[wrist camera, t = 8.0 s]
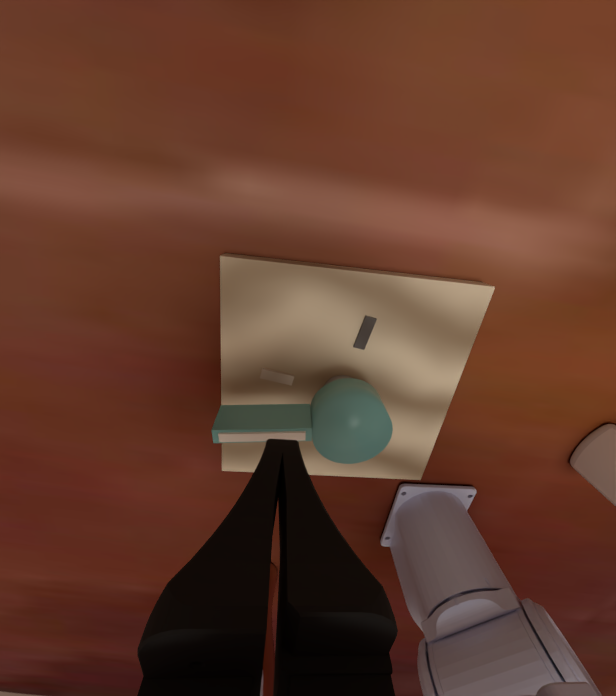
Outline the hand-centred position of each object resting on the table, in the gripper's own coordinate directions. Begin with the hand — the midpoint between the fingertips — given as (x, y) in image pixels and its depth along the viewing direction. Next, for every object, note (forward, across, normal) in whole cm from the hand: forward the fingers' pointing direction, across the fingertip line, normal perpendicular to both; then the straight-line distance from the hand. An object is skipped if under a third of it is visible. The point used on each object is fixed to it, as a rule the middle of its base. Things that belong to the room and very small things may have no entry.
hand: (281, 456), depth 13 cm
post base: (+10, -4, +2) cm, 11 cm away
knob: (+6, -1, +2) cm, 7 cm away
